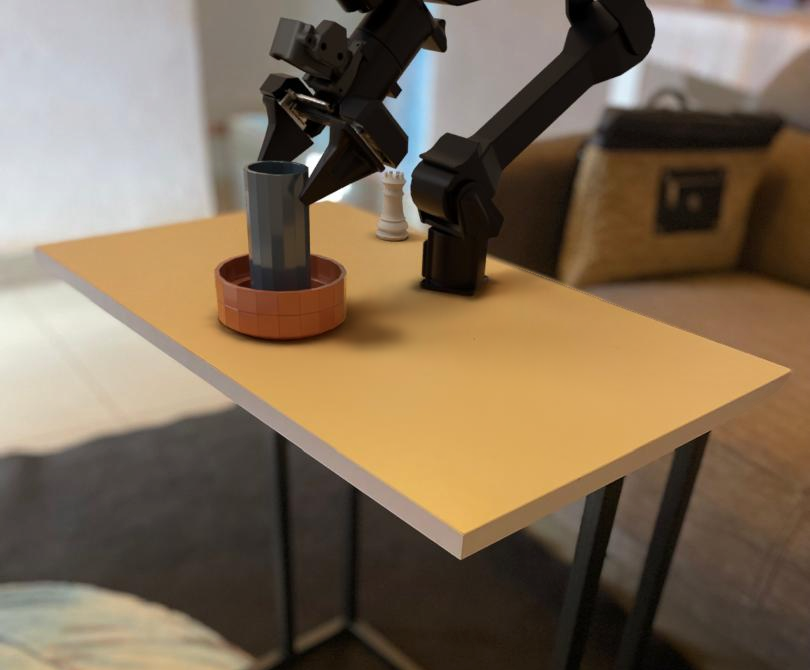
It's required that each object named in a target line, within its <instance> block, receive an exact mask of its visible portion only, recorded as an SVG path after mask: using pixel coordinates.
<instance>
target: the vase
mask: <svg viewBox="0 0 810 670" xmlns="http://www.w3.org/2000/svg"><path fill="white" fill-rule="evenodd" d="M242 169H243V170H242V171H243V183H244V184H243V185H244V186H243V187H244V200H245V201H244V203H245V214H246V215H245V216H246V230H247V231H246V232H247V246H248V253H249V264H250V279H251V289H255V290H263V291H277V292H279V291H300V290H306V289H311V254H312V253H311V252H312V251H311V250H312V249H311V247H312V246H311V209H310V208H311V207H310V206H311V205H309V206H305V205H304V204H303V203H302V202H301V201H300V200H299V195H300V193H301V191H302V189H303V187H304V185H305V184H306V182H307V180H308V178H309V177H310V168H309V166H308V165H306V164H304V163H299V162H296V161H292V162H289V161H258V162H257V161H253V162H249V163H247V164H245V165H243V168H242Z"/></svg>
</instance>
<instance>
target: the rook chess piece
mask: <svg viewBox="0 0 810 670" xmlns="http://www.w3.org/2000/svg"><path fill="white" fill-rule="evenodd" d="M383 174H384V176H383V177H382V179H381V183H382V184H383V186H384V190H383V191H382V195H383V206H382V211H381V215H379V219H378V220H377V223H376V228H377V229H376V231H375V235H376V236H377V237H378V238H379V239H380V240H384V241H390V242H391V241H392V242H397V241H403V240H405V239H407V237H409V234H410V233H409V231H407V230H408V229H409V223H408V221H407V220H406V216H405V213H404V205H403V203H404V202H403V197H404V195H405V192H404V190H403V189H404V186H405V185H406V184H407V180H406V178H405V173H404V172H403V171H400V170H396V171H395V173H394V170H388V171H386V170H385V171H384V172H383Z"/></svg>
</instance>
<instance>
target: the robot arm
mask: <svg viewBox="0 0 810 670" xmlns="http://www.w3.org/2000/svg"><path fill="white" fill-rule="evenodd" d="M479 1H481V0H335V2H336V3H337V4H338V6H339V7H340V8H341V10H342V11H343V12H345V13H348V14H350V13H356V12H358V13H359V14H365V15H364V16H363V17H362V18H361V21H360V22H359V23H358V24H357V26H356V27H355V28H354V30H353V32H352V33H350V35H349V37H348V29H347V28H346V27H344V26H343V25H341V24H339V23H338V22H336V21H335V20H330V19H323V20H321V22H320V23H319V24H318V25H317V26H314V25H313V24H310V23H306V22H304V21H301V20H298V19H293V18H287V17H282V16H281V17H279V20H278V24H277V28H276V30H275V33H274V36H273V40H272V43H271V45H270V49H269V52H268V56H270V57H271V58H272V59H275V60H276V61H283V62H285V63H286V64H289V65H291V66H292V67H293V68H296V69H298V70H299V71H301V72H302V73H304V74H303V76H302V77H301V79H300V78H299V77H298V76H294V75H290V74H287V73H283V72H275V73H274V72H272V73H269V74H268V76H267V77H266V78H265V80H264V82H263V83H262V84H261V86H260V87H259V92H260V93H261V95H262V98H261V99H262V100H261V101H262V104H263V105H264V107H265V110H266V115H267V121H268V122H267V126H266V131H265V135H264V137H263V142H262V144H261V147H260V150H259V153H258V156H257V160H256V162H258V161H289V162H294V160H296V159H297V158H298V157H299V156H301V155H302V154H303V153H304V152H306V151H307V150H308V149H310V148H311V147H312V146H313V145H315V142H314V141H313V140H312V139H314V138H316V137H318V136H319V135H321V134H322V132H323V131H324V130H325V129H326V127H329V133H328V134H329V136H328V137H329V138H328V144H327V147H326V148H325V150H324V151H323V153H322V155H321V157H320V158H319V160H318V161H317V163H316V165H315V167H314V168H313V170H312V171H311V173H310V174H309V178H308V180H307V182H306V184H305V185H304V187H303V189H302V191H301V193H300V195H299V200H300V201H301V202H302V203H303V204H304V205H305V206H309V205H310V206H311V205H314V204H315V203H317V202H319V201H320V200H321V201H322V200H323V199H325V198H326V197H328V196H331V195H332V194H334V193H336V192H338V191H340V190H341V189H345V188H346V187H348V186H350V185H352V184H354V183H356V182H358V181H361V180H362V179H365V178H367V177H369V176H372V175H374V174H376V173H380V174H382V173H384V172H385V171H386V167H388V168H390V169H391V168H392V169H394V170H397V168H398V167H399V166H400V164H401V163H402V162H403V160H404V159H405V157H406V156H407V155H408V153H409V140H410V139H409V138H410V137H409V135H408V134H407V133H406V131H405V130H404V129H403V127H402V126H401V125H400V123H399V122H398V121H397V120H396V118H395V117H394V116H393V114H392V112H390V110H389V109H388V108H387V107H386V105H385V104H384V101H385V99H386V98H387V97H388V98H392V99H395V100H397V99H398V97H399V96H400V94H401V93H402V91H403V89H402V87H401V86H400V85H399V83H398V81H399V80H400V79H401V77H402V75H404V73H405V72H406V70H407V69H408V67H409V66H410V65H411V64H412V63H413V60H415V58H416V56H417V54H419V53H420V51H421V50H426V51H431V52H435V53H436V52H437V53H443V54H445V53H446V52H447V51H448V39H447V38H448V37H447V34H446V26H447V21H446V19H444V18H439V17H438V18H437V17H434V16H433V13H432V12H431V11H430V9H429V8H428V6H427V4H426V3H428V4H434V5H435V4H436V5H444V6H452V7H462V6H465V5H468V4H473V3H476V2H479ZM564 7H565V8H564V10H565V17H566V18H567V20H568V23H569V25H570V27H569V28H568V30H567V33H566V37H565V40H564V44H563V48H562V51H561V52H560V53H559V54H558V55H557V56H555V58H554V59H553V60H551V61H550V62H549V63H548V64H547V65H546V66H545V67H544V68H543V69H541V71H540V72H539V73H538V74H536V75H535V76H534V77H533V78H532V79H531V80H530V81H529V82H528V83H527V84H526V85H524V87H522V89H521V90H519V91H518V92H517V93H516V94H515V95H514V96H513V97H512V98H511V99H510V100H509V101H508V102H507V103H505V104H504V105H503V106H502V107H501V108H500V109H499V110H498V111H497V112H495V114H494V115H492V116H491V117H490V119H489V120H487V121H486V122H485V123H484V124H483V125H482V126H481V127H480V128H479V129H478V130H477V131H475V133H473V134H472V135H470V136H468V137H465V136H461V135H458V134H455V133H452V132H445V133H444V134H442V135H440V137H439V138H438V140H436V142H435V143H434V144H433V145H432V147H430V148H429V149H428V150H427V151H425V152H422V153H419V155H418V157H419V158H420V159H421V160H420V161H419V162H418V163H417V164H416V166H415V167H414V168H413V170H412V172H411V175H410V177H411V180H410V185H409V190H410V193H409V194H410V197H411V200H412V203H413V204H414V206H415V207H416V209H417V213H418V216H419V221H420V223H421V224H425V225H428V226H430V227H428V228H427V238H426V239H425V240H423V242H422V254H421V255H422V256H421V257H422V258H421V277H422V278H423V279H421V280H420V281H419V287H420V288H424V289H430V290H435V291H441V292H447V293H451V294H457V295H464V296H471V297H472V296H474V295H475V294H476V293H477V292H478V291H480V289H481V288H483V286H484V285H486V284H487V283H488V282H489V280H490V276H489V275H486V265H487V254H488V247H489V246H488V245H489V240H490V239H493V238H497V237H499V235H500V231H501V229H502V226H503V224H504V222H505V216H504V215H503V214H502V212H501V211H500V209H499V208H498V207H497V206H496V204H495V203H494V201H493V200H492V199H494V197H495V195H496V194H497V190H498V187H499V184H500V180H501V177H502V174H503V172H504V170H505V169H506V168H507V167H508V166H509V165H510V164H512V162H513V161H515V160H516V159H517V158H518V157H519V156H520V155H521V154H522V153H524V151H525V150H526V149H527V148H528V147H529V146H531V144H532V143H533V142H535V140H537V139H538V138H539V137H540V136H541V135H542V134H543V133H545V131H546V130H547V129H548V128H550V126H552V125H553V123H555V122H556V121H557V120H558V119H559V118H560V117H561V116H562V115H563V114H564V113H565V112H566V111H567V110H568V109H570V108H571V106H572V105H574V104H575V103H577V101H578V100H579V99H580V98H581V97H582V96H583V95H584V94H586V92H588V90H590V89H591V88H592V87H594V86H596V85H599V84H602V83H604V82H607V81H609V80H612V79H615V78H618V77H621V76H623V75H624V74H627V72H629V71H630V70H632V69H634V68H635V67H636V66H638V65H639V64H641V63H642V62H643V61H644V60H645V59H646V57H647V56H648V55H649V53H650V51H651V50H652V48H653V44H654V42H655V38H656V25H655V19H654V15H653V12H652V10H651V9H650V8H649V6H648V5H647V3H646V0H564ZM310 89H311V90H312V91H313V92H314V93H312V91H311V90H310Z"/></svg>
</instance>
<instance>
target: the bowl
mask: <svg viewBox="0 0 810 670" xmlns="http://www.w3.org/2000/svg"><path fill="white" fill-rule="evenodd" d="M213 272H214V284H215V285H214V286H215V297H216V306H217V307H216V309H217V316H218V320H219V321H220V322H221V323H222V324H224V326H226V327H228V328H230V329H232V330H234V331H236V332H238V333H241V334H243V335H246V336H250V337H254V338H258V339H265V340H266V339H267V340H280V341H281V340H284V341H285V340H298V339H305V338H310V337H316V336H318V335H322V334H324V333H326V332H328V331H331V330H332V329H335V328H336V327H338V326H339V325H341V324H342V323H343V322H344V321H345V319H346V317H347V311H348V310H347V309H348V308H347V307H348V306H347V305H348V303H347V302H348V301H347V300H348V299H347V290H348V289H347V288H348V286H347V285H348V284H347V282H348V281H347V280H348V279H347V278H348V277H347V276H348V275H347V274H348V273H347V270H346V268H345V267H344V265H343V264H342V263H340V262H338V261H337V260H335V259H333V258H330V257H327V256H325V255H321V254H317V253H311V289H306V290H300V291H279V292H277V291H263V290H255V289H251V279H250V264H249V252H248V253H243V254H238V255H235V256H231V257H229V258H227V259H225V260H223V261H220V262H219V263H218V264H217V265H216V267H215V268H214V269H213Z"/></svg>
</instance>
